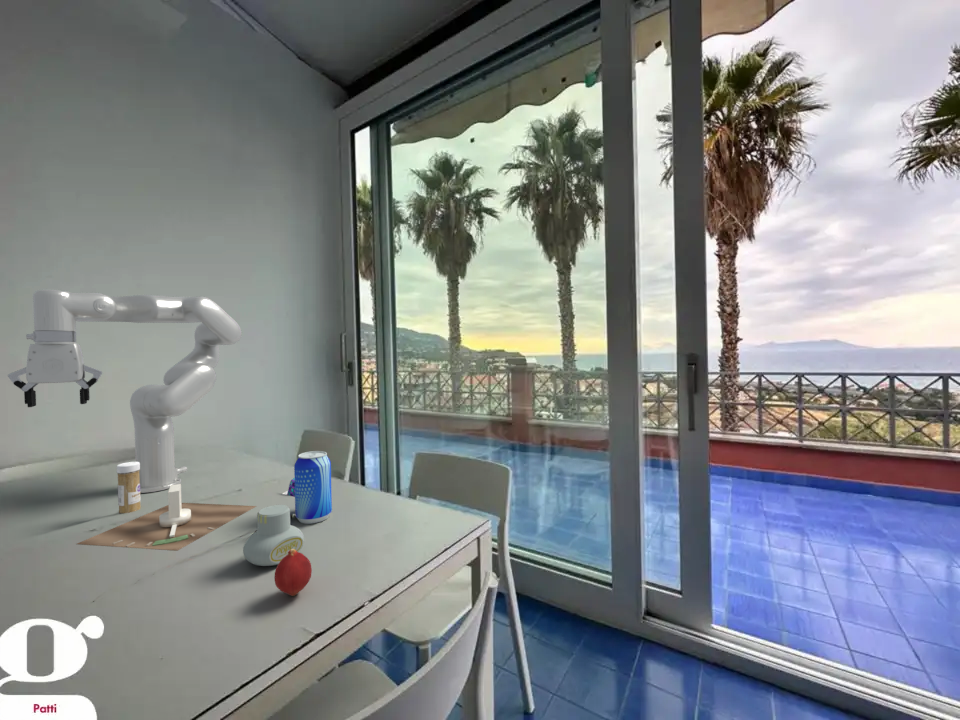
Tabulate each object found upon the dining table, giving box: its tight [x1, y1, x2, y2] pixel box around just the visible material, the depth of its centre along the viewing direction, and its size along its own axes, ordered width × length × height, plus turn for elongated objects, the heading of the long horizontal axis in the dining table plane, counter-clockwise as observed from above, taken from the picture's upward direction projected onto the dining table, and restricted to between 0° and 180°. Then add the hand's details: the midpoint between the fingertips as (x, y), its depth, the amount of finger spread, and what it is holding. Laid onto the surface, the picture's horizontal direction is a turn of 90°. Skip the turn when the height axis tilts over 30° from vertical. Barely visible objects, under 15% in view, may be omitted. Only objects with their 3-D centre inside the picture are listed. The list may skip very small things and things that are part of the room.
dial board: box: [76, 502, 257, 551], centre depth 98 cm, size 24×24×2 cm
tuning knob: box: [159, 483, 191, 537], centre depth 95 cm, size 12×6×8 cm, turn 32°
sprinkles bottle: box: [116, 461, 142, 514], centre depth 106 cm, size 5×5×14 cm
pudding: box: [281, 477, 295, 498], centre depth 120 cm, size 12×12×5 cm
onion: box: [274, 549, 313, 597], centre depth 71 cm, size 6×6×8 cm
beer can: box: [293, 450, 333, 525], centre depth 104 cm, size 8×8×16 cm
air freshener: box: [242, 504, 305, 567], centre depth 83 cm, size 11×8×10 cm
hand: (58, 405), depth 107 cm, fingers open, 9 cm apart
